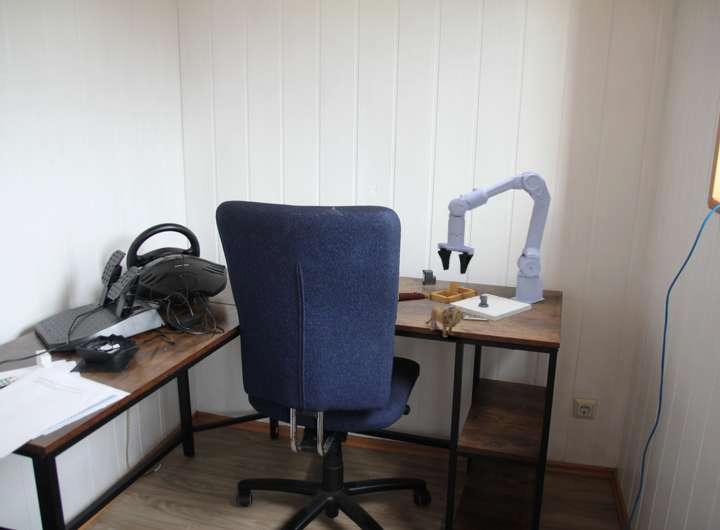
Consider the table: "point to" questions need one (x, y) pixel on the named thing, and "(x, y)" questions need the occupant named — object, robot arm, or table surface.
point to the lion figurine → (446, 318)
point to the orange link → (452, 294)
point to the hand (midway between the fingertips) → (454, 271)
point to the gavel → (412, 296)
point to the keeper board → (491, 306)
